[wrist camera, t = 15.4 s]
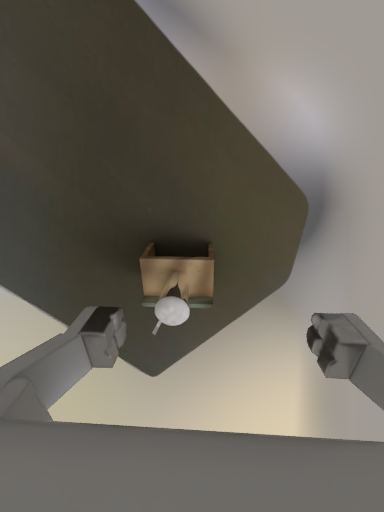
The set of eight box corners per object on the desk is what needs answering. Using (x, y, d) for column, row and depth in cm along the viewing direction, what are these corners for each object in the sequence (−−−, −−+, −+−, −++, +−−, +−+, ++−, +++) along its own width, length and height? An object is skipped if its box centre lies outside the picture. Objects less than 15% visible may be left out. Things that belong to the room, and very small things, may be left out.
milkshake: (156, 280, 35) (139, 323, 25) (178, 261, 33) (168, 300, 24) (176, 297, 36) (166, 344, 27) (198, 279, 34) (195, 323, 25)
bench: (212, 243, 39) (214, 265, 30) (211, 279, 42) (213, 308, 34) (149, 242, 39) (135, 264, 31) (153, 278, 43) (141, 306, 35)
